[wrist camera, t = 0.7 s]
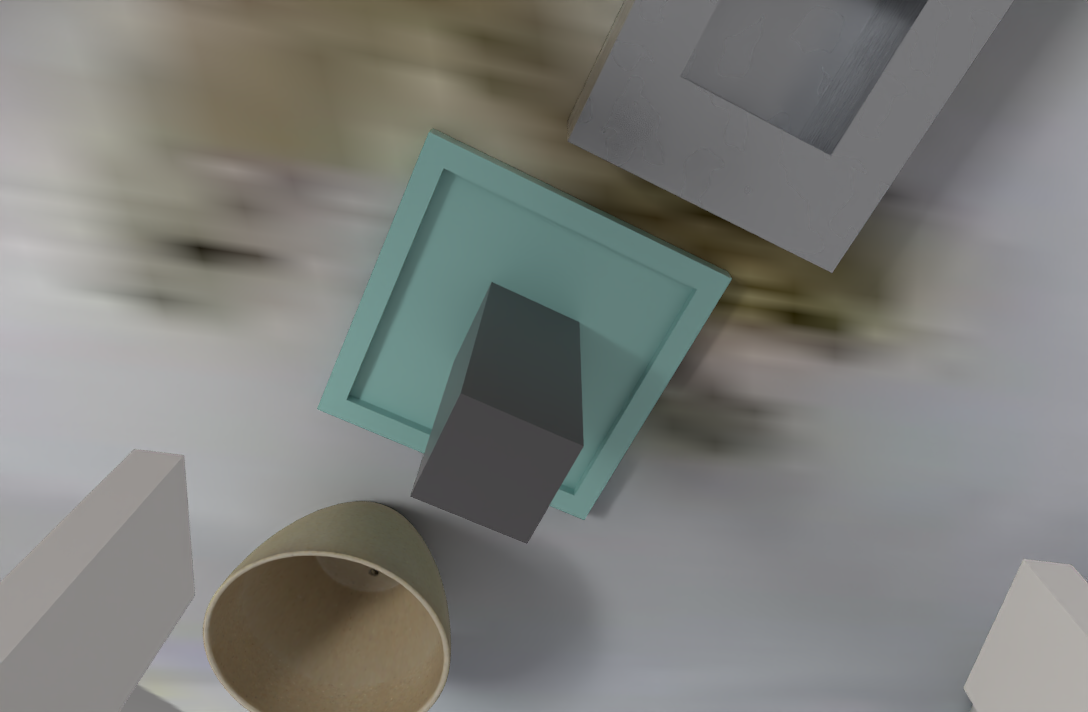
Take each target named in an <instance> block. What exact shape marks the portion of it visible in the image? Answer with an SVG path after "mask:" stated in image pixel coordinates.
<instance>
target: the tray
mask: <svg viewBox="0 0 1088 712" xmlns="http://www.w3.org/2000/svg"><path fill="white" fill-rule="evenodd" d="M731 280H732V278H731V276H730V275H729V273H728V272H727V271H725V270H723V269H721V268H719V267H717V266H715V265H713V264H711V263H709V262H707V261H705V260H703V259H701V258H699V257H697V256H694V255H692V254H690V253H688V252H686V251H684V250H682V249H680V248H678V247H676V246H674V245H672V244H670V243H668V242H666V241H664V240H662V239H659V238H657V237H655V236H653V235H651V234H649V233H647V232H645V231H643V230H641V229H639V228H637V227H635V226H633V225H631V224H629V223H627V222H625V221H622V220H620V219H618V218H616V217H614V216H612V215H610V214H608V213H606V212H604V211H602V210H600V209H598V208H596V207H594V206H592V205H590V204H588V203H585V202H583V201H581V200H579V199H577V198H575V197H573V196H571V195H569V194H567V193H565V192H563V191H561V190H559V189H557V188H555V187H553V186H550V185H548V184H546V183H544V182H542V181H540V180H538V179H536V178H534V177H532V176H530V175H528V174H526V173H524V172H522V171H520V170H518V169H516V168H513V167H511V166H509V165H507V164H505V163H503V162H501V161H499V160H497V159H495V158H493V157H491V156H489V155H487V154H485V153H483V152H481V151H479V150H476V149H474V148H472V147H470V146H468V145H466V144H464V143H462V142H460V141H458V140H456V139H454V138H452V137H450V136H448V135H446V134H444V133H441V132H439V131H437V130H435V129H432V130H430V131H429V133H428V136H427V138H426V141H425V143H424V146H423V148H422V150H421V153H420V155H419V158H418V160H417V163H416V165H415V168H414V170H413V173H412V175H411V178H410V180H409V183H408V185H407V188H406V190H405V193H404V195H403V198H402V200H401V202H400V205H399V207H398V210H397V212H396V215H395V217H394V220H393V222H392V225H391V227H390V230H389V232H388V235H387V237H386V240H385V242H384V245H383V247H382V250H381V252H380V254H379V257H378V259H377V262H376V264H375V267H374V269H373V272H372V274H371V277H370V279H369V282H368V284H367V287H366V289H365V292H364V294H363V297H362V299H361V302H360V304H359V306H358V309H357V311H356V314H355V316H354V319H353V321H352V324H351V326H350V329H349V331H348V334H347V336H346V339H345V341H344V344H343V346H342V349H341V351H340V353H339V356H338V358H337V361H336V363H335V366H334V368H333V371H332V373H331V376H330V378H329V381H328V383H327V386H326V388H325V391H324V393H323V396H322V398H321V401H320V403H319V405H318V408H317V409H318V410H320V411H323V412H325V413H328V414H330V415H332V416H335V417H337V418H340V419H342V420H344V421H347V422H349V423H352V424H354V425H356V426H359V427H361V428H364V429H366V430H368V431H371V432H373V433H376V434H378V435H381V436H383V437H385V438H388V439H390V440H393V441H395V442H397V443H400V444H402V445H405V446H407V447H409V448H412V449H414V450H417V451H419V452H421V453H424V452H425V449H426V446H427V443H428V440H429V437H430V434H431V431H432V428H433V424H434V421H435V418H436V415H437V412H438V409H439V406H440V403H441V400H442V397H443V393H444V390H445V387H446V384H447V381H448V378H449V375H450V372H451V369H452V366H453V363H454V360H455V358H456V356H457V354H458V352H459V350H460V348H461V345H462V343H463V341H464V339H465V337H466V335H467V333H468V331H469V329H470V326H471V324H472V322H473V320H474V318H475V316H476V314H477V312H478V310H479V308H480V305H481V303H482V301H483V299H484V297H485V295H486V293H487V291H488V289H489V286H490V284H491V282H493V283H495V284H498V285H500V286H502V287H504V288H506V289H508V290H511V291H513V292H515V293H517V294H519V295H521V296H524V297H526V298H528V299H530V300H532V301H535V302H537V303H539V304H541V305H543V306H545V307H548V308H550V309H552V310H554V311H556V312H558V313H561V314H563V315H565V316H567V317H569V318H572V319H574V320H576V321H578V322H579V323H580V352H581V381H582V410H583V439H584V447H583V449H582V450H581V452H580V454H579V455H578V457H577V459H576V461H575V462H574V464H573V466H572V467H571V469H570V471H569V473H568V474H567V476H566V478H565V479H564V481H563V483H562V485H561V486H560V488H559V490H558V491H557V493H556V495H555V497H554V498H553V500H552V502H551V503H550V505H549V506H551V507H554V508H556V509H559V510H561V511H563V512H566V513H568V514H571V515H573V516H575V517H578V518H580V519H583V520H585V518H586V516H587V515H588V513H589V512H590V510H591V508H592V507H593V505H594V503H595V502H596V500H597V498H598V497H599V495H600V494H601V492H602V490H603V489H604V487H605V485H606V484H607V482H608V480H609V479H610V477H611V476H612V474H613V472H614V471H615V469H616V467H617V466H618V464H619V463H620V461H621V459H622V458H623V456H624V454H625V453H626V451H627V449H628V448H629V446H630V445H631V443H632V441H633V440H634V438H635V436H636V435H637V433H638V432H639V430H640V428H641V427H642V425H643V423H644V422H645V420H646V418H647V417H648V415H649V414H650V412H651V410H652V409H653V407H654V405H655V404H656V402H657V400H658V399H659V397H660V396H661V394H662V392H663V391H664V389H665V387H666V386H667V384H668V383H669V381H670V379H671V378H672V376H673V374H674V373H675V371H676V369H677V368H678V366H679V365H680V363H681V361H682V360H683V358H684V356H685V355H686V353H687V352H688V350H689V348H690V347H691V345H692V343H693V342H694V340H695V338H696V337H697V335H698V334H699V332H700V330H701V329H702V327H703V325H704V324H705V322H706V320H707V319H708V317H709V316H710V314H711V312H712V311H713V309H714V307H715V306H716V304H717V303H718V301H719V299H720V298H721V296H722V294H723V293H724V291H725V289H726V288H727V286H728V285H729V283H730V281H731Z"/></svg>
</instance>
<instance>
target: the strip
mask: <svg viewBox="0 0 1088 712" xmlns="http://www.w3.org/2000/svg"><path fill="white" fill-rule="evenodd" d="M1013 1H1014V0H625V1H624V3H623V5H622V7H621V9H620V11H619V13H618V16H617V18H616V20H615V22H614V24H613V26H612V28H611V30H610V32H609V34H608V37H607V39H606V41H605V43H604V45H603V47H602V49H601V51H600V53H599V56H598V58H597V60H596V62H595V64H594V66H593V68H592V70H591V72H590V75H589V77H588V79H587V81H586V83H585V85H584V87H583V89H582V91H581V93H580V96H579V98H578V100H577V102H576V104H575V106H574V108H573V110H572V112H571V115H570V117H569V119H568V142H570V143H572V144H574V145H576V146H578V147H580V148H582V149H584V150H586V151H588V152H590V153H592V154H594V155H596V156H598V157H600V158H602V159H604V160H606V161H608V162H610V163H612V164H614V165H616V166H618V167H620V168H622V169H624V170H626V171H628V172H630V173H632V174H634V175H636V176H638V177H640V178H642V179H644V180H646V181H648V182H650V183H652V184H654V185H656V186H658V187H660V188H662V189H664V190H666V191H668V192H670V193H672V194H674V195H677V196H679V197H681V198H683V199H685V200H687V201H689V202H691V203H693V204H695V205H697V206H699V207H701V208H703V209H705V210H707V211H709V212H711V213H713V214H715V215H717V216H719V217H721V218H723V219H725V220H727V221H729V222H731V223H733V224H735V225H737V226H739V227H741V228H743V229H745V230H747V231H749V232H751V233H753V234H755V235H757V236H759V237H761V238H763V239H765V240H767V241H769V242H771V243H773V244H775V245H777V246H779V247H781V248H783V249H785V250H787V251H789V252H791V253H793V254H795V255H797V256H799V257H801V258H803V259H805V260H807V261H809V262H811V263H813V264H815V265H817V266H819V267H821V268H823V269H825V270H827V271H829V272H831V273H832V272H833V271H834V269H835V268H836V266H837V265H838V263H839V262H840V260H841V259H842V257H843V256H844V254H845V253H846V251H847V250H848V248H849V247H850V245H851V244H852V242H853V241H854V239H855V238H856V236H857V235H858V233H859V232H860V230H861V229H862V227H863V226H864V224H865V223H866V221H867V220H868V218H869V217H870V215H871V214H872V212H873V211H874V209H875V208H876V206H877V205H878V203H879V202H880V200H881V199H882V197H883V196H884V195H885V193H886V192H887V190H888V189H889V187H890V186H891V184H892V183H893V181H894V180H895V178H896V177H897V175H898V174H899V172H900V171H901V169H902V168H903V166H904V165H905V163H906V162H907V160H908V159H909V157H910V156H911V154H912V153H913V151H914V150H915V148H916V147H917V145H918V144H919V142H920V141H921V139H922V138H923V136H924V135H925V133H926V132H927V130H928V129H929V127H930V126H931V124H932V123H933V121H934V120H935V118H936V117H937V115H938V114H939V112H940V111H941V109H942V108H943V106H944V105H945V103H946V102H947V100H948V99H949V97H950V96H951V94H952V93H953V91H954V90H955V88H956V87H957V85H958V84H959V82H960V81H961V79H962V78H963V76H964V75H965V73H966V72H967V70H968V69H969V67H970V66H971V64H972V63H973V61H974V60H975V58H976V57H977V55H978V54H979V52H980V51H981V49H982V48H983V46H984V45H985V43H986V42H987V40H988V39H989V37H990V36H991V34H992V33H993V31H994V30H995V28H996V27H997V25H998V24H999V22H1000V21H1001V19H1002V18H1003V16H1004V15H1005V13H1006V12H1007V10H1008V9H1009V7H1010V6H1011V4H1012V3H1013Z"/></svg>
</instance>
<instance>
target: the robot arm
mask: <svg viewBox="0 0 1088 712" xmlns="http://www.w3.org/2000/svg"><path fill="white" fill-rule="evenodd" d="M194 596H195V587H194V574H193V562H192V549H191V536H190V524H189V511H188V498H187V486H186V473H185V460H184V455H178V454H170V453H162V452H154V451H146V450H137V449H134V450H133V451H132V452H131V453H130V454H129V455H128V456H127V457H126V458H125V459H124V460H123V461H122V462H121V463H120V464H119V465H118V466H117V467H116V468H115V469H114V470H113V471H112V472H111V473H110V474H109V475H108V476H107V477H106V478H105V479H104V480H103V481H102V482H101V483H100V484H99V485H98V486H97V487H96V488H95V489H93V490H92V491H91V492H90V493H89V494H88V495H87V496H86V497H85V498H84V499H83V500H82V501H81V502H80V503H79V504H78V505H77V506H76V507H75V508H74V509H73V510H72V511H71V512H70V513H69V514H68V515H67V516H66V517H65V518H64V519H63V520H62V521H61V522H60V523H59V524H58V525H57V526H56V527H55V528H54V529H53V530H52V531H51V532H50V533H49V534H48V535H47V536H46V537H45V538H44V539H43V540H42V541H41V542H40V543H39V544H38V545H37V546H36V547H35V548H34V549H33V550H32V551H31V552H30V553H29V554H28V555H27V556H26V557H25V558H24V559H23V560H22V561H21V562H20V563H19V564H18V565H17V566H16V567H15V568H14V569H13V570H12V571H11V572H10V573H9V574H8V575H7V576H6V577H5V578H4V579H3V580H2V581H1V582H0V712H120V710H121V709H122V707H123V706H124V704H125V702H126V701H127V699H128V698H129V696H130V695H131V693H132V692H133V690H134V689H135V687H136V686H137V684H138V682H139V681H140V679H141V678H142V676H143V675H144V673H145V672H146V670H147V669H148V667H149V666H150V664H151V662H152V661H153V659H154V658H155V656H156V655H157V653H158V652H159V650H160V649H161V647H162V646H163V644H164V642H165V641H166V639H167V638H168V636H169V635H170V633H171V632H172V630H173V629H174V627H175V626H176V624H177V622H178V621H179V619H180V618H181V616H182V615H183V613H184V612H185V610H186V609H187V607H188V606H189V604H190V603H191V601H192V599H193V598H194ZM963 688H964V690H965V692H966V693H967V695H968V697H969V699H970V700H971V702H972V704H973V706H974V707H975V709H976V711H977V712H1088V583H1087V581H1086V580H1085V579H1084V578H1083V577H1082V576H1081V575H1080V574H1079V573H1078V571H1077V570H1076V569H1075V568H1074V567H1073V566H1072V565H1070V564H1062V563H1053V562H1045V561H1037V560H1029V559H1023V561H1022V563H1021V565H1020V567H1019V569H1018V572H1017V574H1016V576H1015V578H1014V580H1013V582H1012V584H1011V587H1010V589H1009V591H1008V593H1007V595H1006V597H1005V599H1004V602H1003V604H1002V606H1001V608H1000V610H999V612H998V614H997V617H996V619H995V621H994V623H993V625H992V627H991V629H990V632H989V634H988V636H987V638H986V640H985V642H984V645H983V647H982V649H981V651H980V653H979V655H978V657H977V660H976V662H975V664H974V666H973V668H972V670H971V672H970V675H969V677H968V679H967V681H966V683H965V685H964V687H963Z"/></svg>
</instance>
